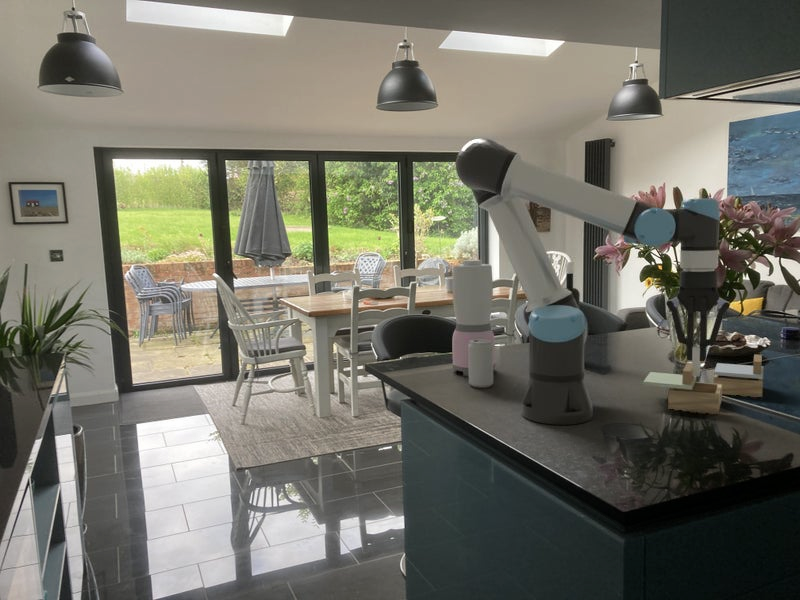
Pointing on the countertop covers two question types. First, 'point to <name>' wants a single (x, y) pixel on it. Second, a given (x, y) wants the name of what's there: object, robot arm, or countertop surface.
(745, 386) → the box far
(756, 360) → the lid far
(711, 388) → the box near
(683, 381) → the lid near
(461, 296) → the blender
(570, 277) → the wine bottle
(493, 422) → the countertop surface
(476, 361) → the beverage can
